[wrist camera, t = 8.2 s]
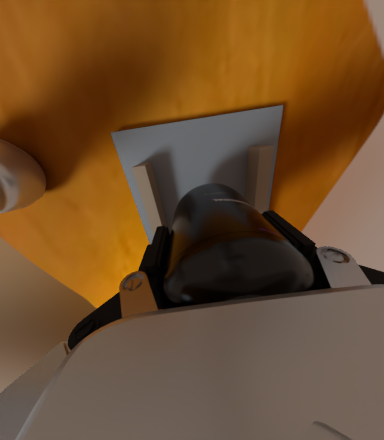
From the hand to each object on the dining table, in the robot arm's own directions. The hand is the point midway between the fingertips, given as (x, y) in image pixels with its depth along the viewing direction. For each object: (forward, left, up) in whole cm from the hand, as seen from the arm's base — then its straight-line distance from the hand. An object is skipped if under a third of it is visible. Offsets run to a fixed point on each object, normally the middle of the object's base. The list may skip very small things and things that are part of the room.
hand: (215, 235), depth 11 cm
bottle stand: (0, 0, -8) cm, 8 cm away
